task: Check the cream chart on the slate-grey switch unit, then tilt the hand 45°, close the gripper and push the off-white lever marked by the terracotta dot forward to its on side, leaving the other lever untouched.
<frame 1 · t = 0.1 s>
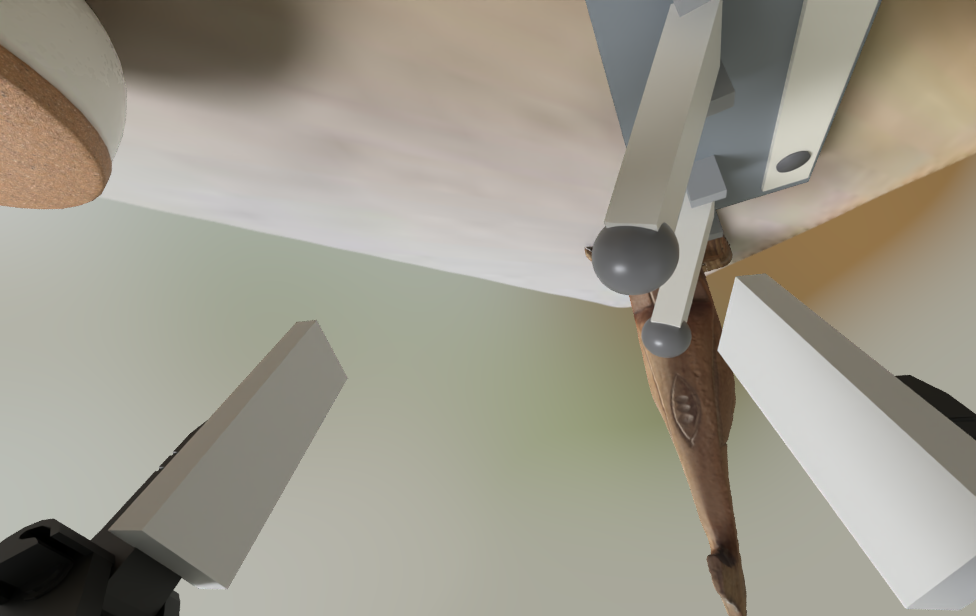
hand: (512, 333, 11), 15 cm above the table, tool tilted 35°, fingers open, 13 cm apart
other lever: (682, 270, 22), point 9 cm above the table, hinge at -25.0°
bird sculpture: (657, 243, 36), on the table
marked lever: (665, 145, 13), point 9 cm above the table, hinge at -25.0°
switch unit: (711, 71, 19), on the table
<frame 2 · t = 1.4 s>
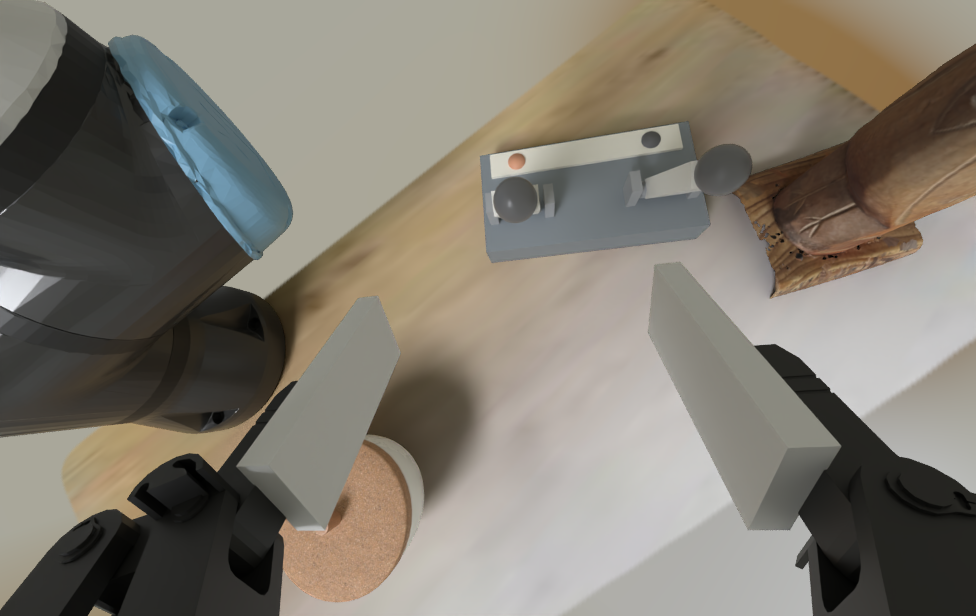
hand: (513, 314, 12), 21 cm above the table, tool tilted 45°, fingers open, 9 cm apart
other lever: (688, 179, 24), point 9 cm above the table, hinge at -25.0°
bird sculpture: (802, 222, 31), on the table
marked lever: (518, 203, 26), point 9 cm above the table, hinge at -25.0°
switch unit: (582, 203, 34), on the table
lidded jar: (386, 484, 32), on the table
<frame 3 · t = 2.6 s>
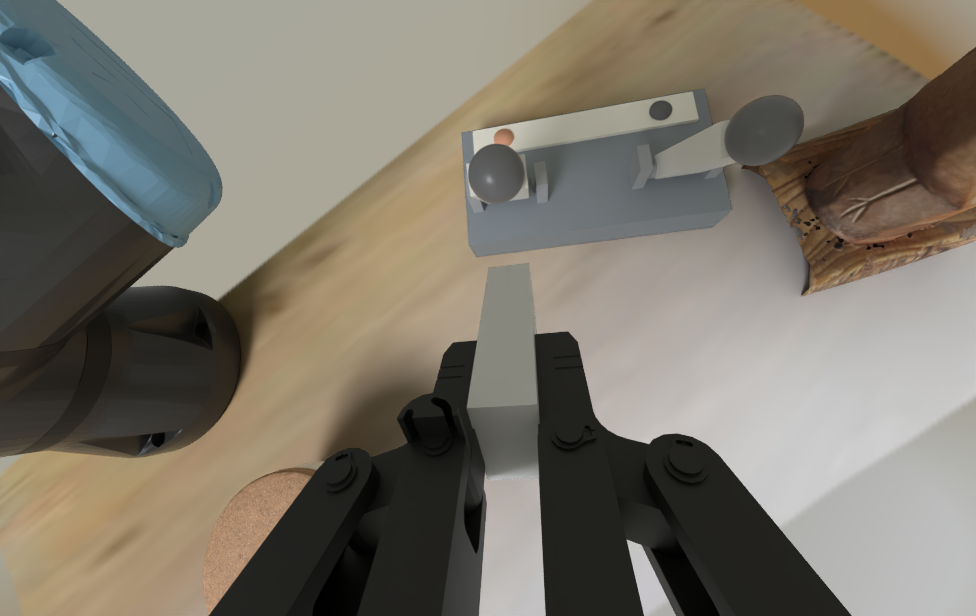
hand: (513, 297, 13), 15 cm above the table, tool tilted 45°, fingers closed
other lever: (711, 150, 20), point 9 cm above the table, hinge at -25.0°
bird sculpture: (838, 207, 26), on the table
marked lever: (502, 183, 21), point 9 cm above the table, hinge at -25.0°
switch unit: (581, 187, 30), on the table
lidded jar: (354, 515, 28), on the table
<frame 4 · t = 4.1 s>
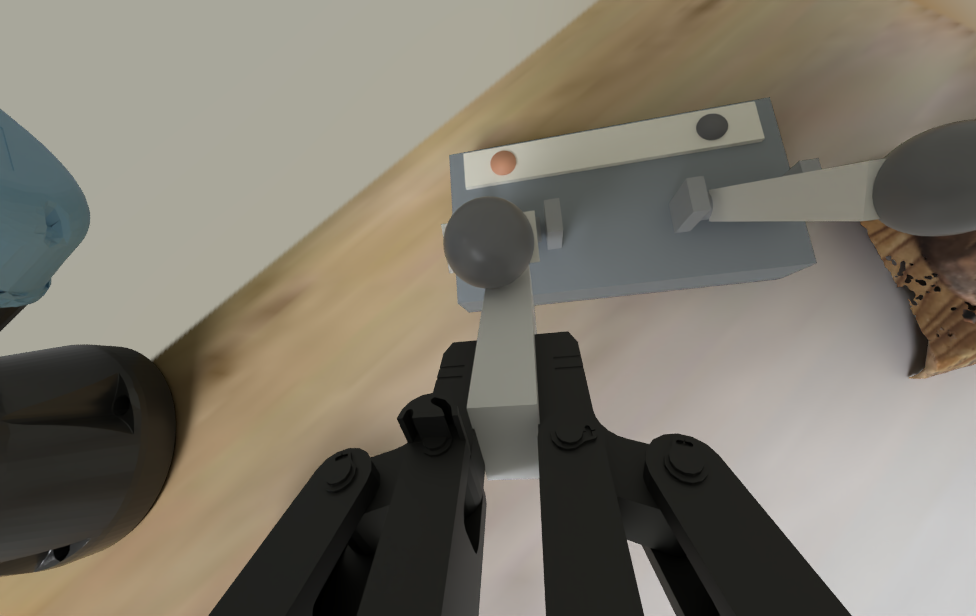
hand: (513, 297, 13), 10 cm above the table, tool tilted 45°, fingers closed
other lever: (813, 194, 13), point 9 cm above the table, hinge at -25.0°
bird sculpture: (951, 254, 20), on the table
marked lever: (501, 237, 15), point 9 cm above the table, hinge at -25.0°, touching gripper
switch unit: (602, 224, 23), on the table
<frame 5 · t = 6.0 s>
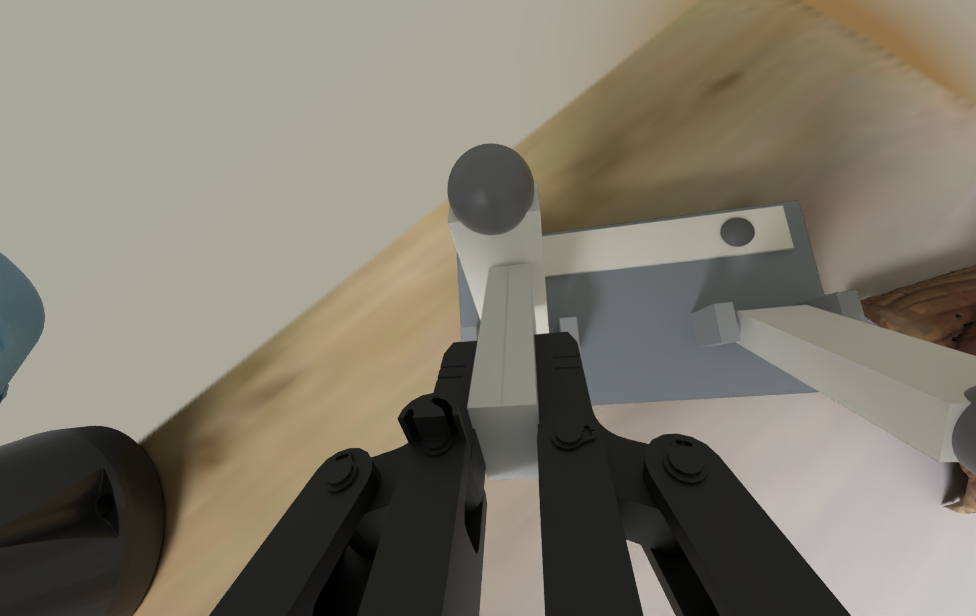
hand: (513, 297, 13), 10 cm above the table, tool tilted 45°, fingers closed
other lever: (862, 363, 12), point 9 cm above the table, hinge at -25.0°
marked lever: (508, 280, 15), point 9 cm above the table, hinge at 26.0°, touching gripper
switch unit: (617, 317, 22), on the table
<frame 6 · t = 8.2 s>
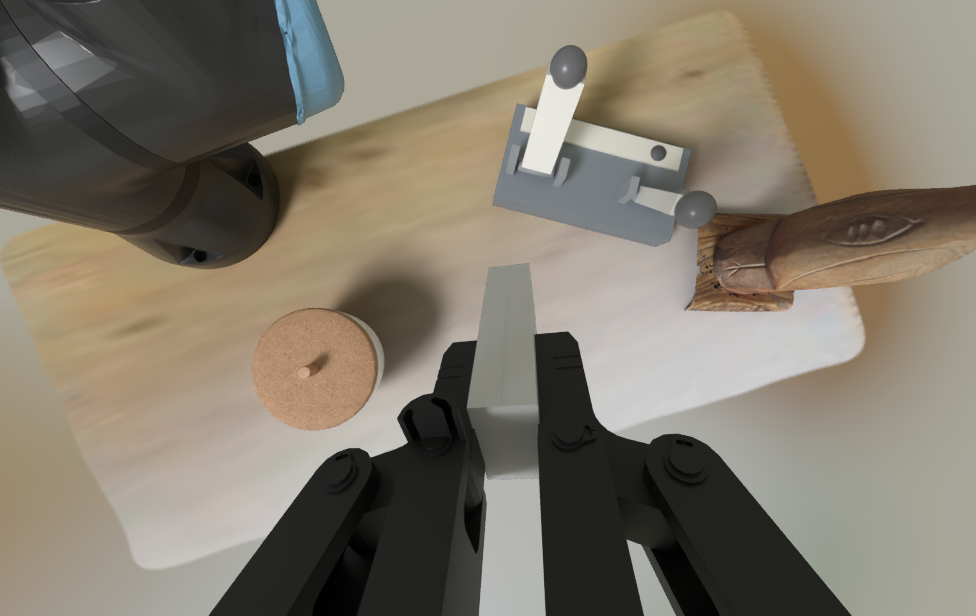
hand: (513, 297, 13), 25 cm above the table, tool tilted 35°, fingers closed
other lever: (671, 203, 31), point 9 cm above the table, hinge at -25.0°
bird sculpture: (730, 263, 40), on the table
marked lever: (551, 121, 30), point 9 cm above the table, hinge at 26.1°
switch unit: (584, 183, 39), on the table
lidded jar: (347, 358, 38), on the table
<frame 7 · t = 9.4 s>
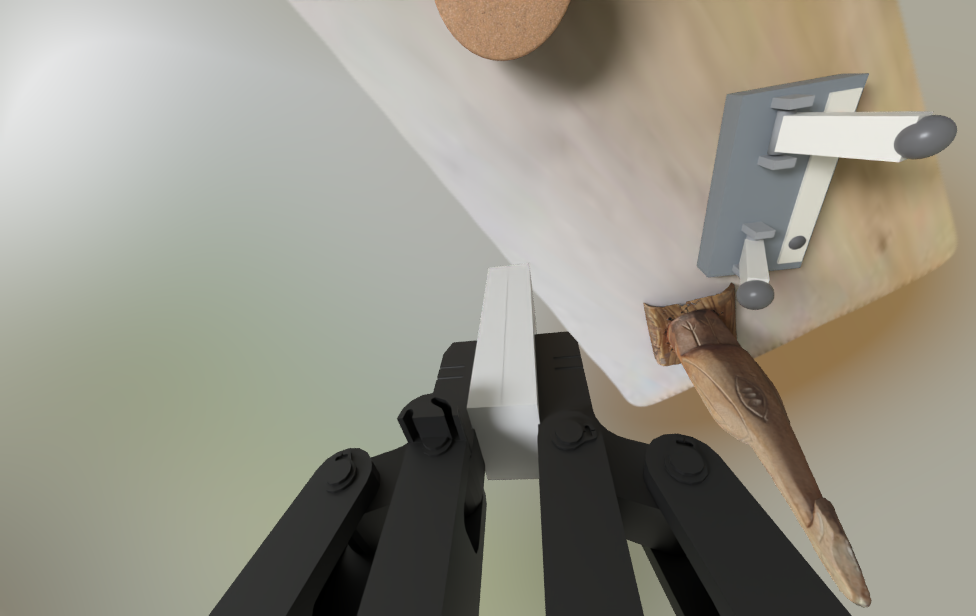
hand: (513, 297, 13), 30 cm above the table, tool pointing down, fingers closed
other lever: (752, 272, 35), point 9 cm above the table, hinge at -25.0°
bird sculpture: (688, 321, 49), on the table
marked lever: (848, 134, 28), point 9 cm above the table, hinge at 26.1°
switch unit: (758, 184, 39), on the table
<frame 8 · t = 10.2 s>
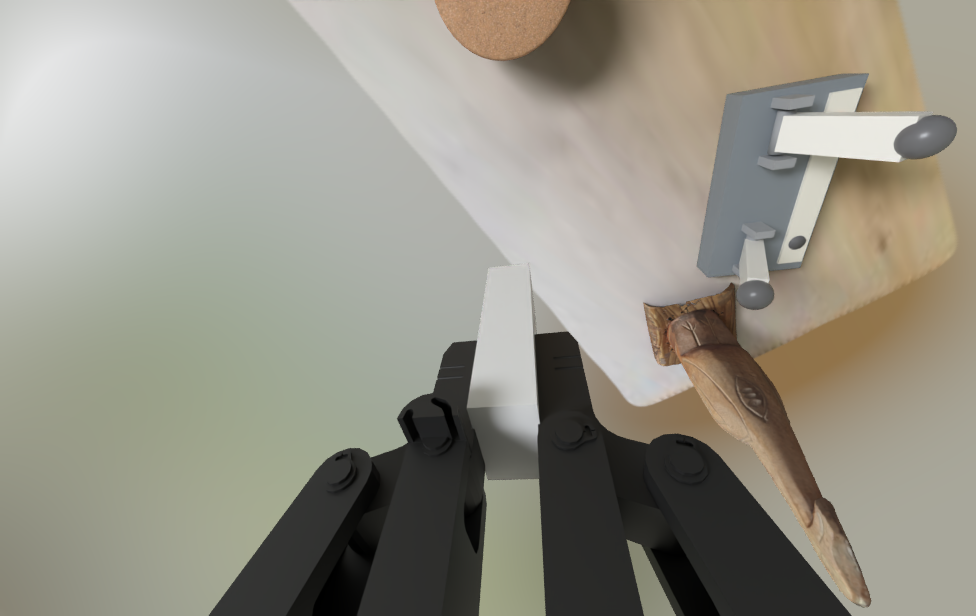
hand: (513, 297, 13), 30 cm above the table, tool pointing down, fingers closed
other lever: (752, 272, 35), point 9 cm above the table, hinge at -25.0°
bird sculpture: (688, 321, 49), on the table
marked lever: (848, 134, 28), point 9 cm above the table, hinge at 26.1°
switch unit: (758, 184, 39), on the table
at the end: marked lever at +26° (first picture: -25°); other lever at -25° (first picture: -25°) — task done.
